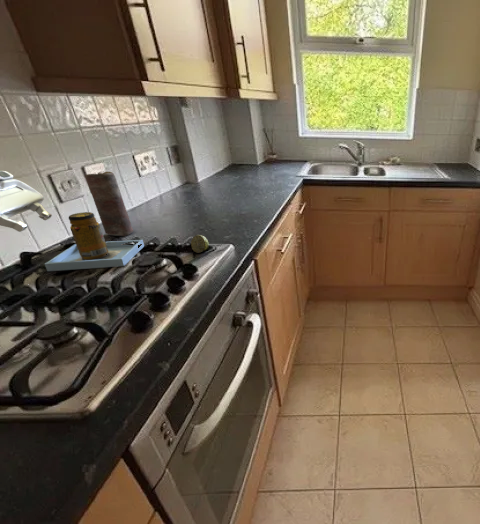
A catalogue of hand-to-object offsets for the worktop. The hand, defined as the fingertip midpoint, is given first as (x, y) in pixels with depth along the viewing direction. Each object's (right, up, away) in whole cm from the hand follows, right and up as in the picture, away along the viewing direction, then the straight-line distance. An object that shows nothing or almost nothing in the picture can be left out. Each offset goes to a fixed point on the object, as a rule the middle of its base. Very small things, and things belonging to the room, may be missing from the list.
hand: (37, 223), depth 86 cm
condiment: (+12, -9, +5) cm, 16 cm away
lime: (+37, -7, +11) cm, 40 cm away
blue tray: (+12, -9, +5) cm, 16 cm away
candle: (+5, -1, +22) cm, 23 cm away
